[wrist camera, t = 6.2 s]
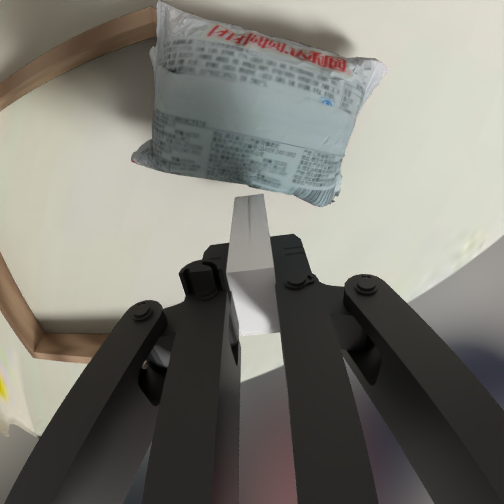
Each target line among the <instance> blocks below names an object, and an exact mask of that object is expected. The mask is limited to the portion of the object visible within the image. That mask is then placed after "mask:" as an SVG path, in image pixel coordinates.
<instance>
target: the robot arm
mask: <svg viewBox="0 0 504 504" xmlns="http://www.w3.org/2000/svg"><path fill="white" fill-rule="evenodd" d="M179 276H180V279H181V283H182V286H183V289H184V292H185V295H186V296H185V300H184V302H182V303H180V304H177V305H175V306H171V307H168V308H165V309H163V308H162V305H161V304H160V303H159V302H157V301H153V300H145V301H142V302H139V303H137V304H135V305H133V306H131V307H130V308H129V309H128V310H127V311H126V313H125V314H124V315H123V317H122V318H121V319H120V321H119V322H118V323H117V325H116V326H115V327H114V329H113V330H112V331H111V333H110V334H109V336H108V337H107V338H106V340H105V341H104V342H103V344H102V345H101V347H100V348H99V349H98V351H97V352H96V354H95V355H94V356H93V358H92V359H91V361H90V362H89V364H88V365H87V366H86V368H85V369H84V371H83V372H82V374H81V375H80V377H79V378H78V380H77V381H76V383H75V384H74V385H73V387H72V388H71V390H70V392H69V393H68V395H67V396H66V398H65V399H64V401H63V402H62V404H61V405H60V407H59V408H58V410H57V412H56V413H55V415H54V416H53V418H52V419H51V421H50V423H49V424H48V426H47V428H46V429H45V431H44V432H43V434H42V436H41V437H40V439H39V441H38V443H37V444H36V446H35V448H34V449H33V451H32V453H31V455H30V456H29V458H28V460H27V461H26V463H25V465H24V467H23V469H22V471H21V472H20V474H19V476H18V478H17V480H16V482H15V484H14V485H13V487H12V489H11V491H10V493H9V495H8V497H7V499H6V501H5V504H123V502H124V500H125V498H126V495H127V493H128V491H129V489H130V487H131V484H132V482H133V480H134V478H135V476H136V474H137V471H138V469H139V467H140V465H141V463H142V461H143V458H144V456H145V454H146V452H147V450H148V448H149V446H150V443H151V441H152V446H151V451H150V456H149V462H148V468H147V474H146V480H145V487H144V493H143V500H142V504H239V433H240V432H239V431H240V426H239V425H240V374H241V346H240V342H239V331H240V335H241V336H249V335H259V334H268V333H277V332H280V334H281V343H282V352H283V360H284V369H285V378H286V387H287V397H288V406H289V416H290V425H291V436H292V446H293V457H294V468H295V479H296V490H297V502H298V504H378V499H377V493H376V489H375V483H374V479H373V474H372V469H371V465H370V460H369V456H368V452H367V447H366V443H365V439H364V435H363V430H362V426H361V422H360V419H359V415H358V411H357V407H356V403H355V399H354V395H353V392H352V388H351V384H350V381H349V377H348V374H347V370H346V367H345V363H344V360H343V357H344V359H345V360H346V362H347V363H348V365H349V366H350V368H351V369H352V371H353V373H354V374H355V375H356V377H357V379H358V380H359V382H360V383H361V385H362V386H363V388H364V390H365V391H366V393H367V394H368V396H369V398H370V399H371V401H372V402H373V404H374V406H375V407H376V409H377V410H378V412H379V413H380V415H381V417H382V418H383V420H384V421H385V423H386V424H387V426H388V428H389V429H390V431H391V433H392V434H393V436H394V438H395V439H396V441H397V442H398V444H399V446H400V447H401V449H402V450H403V452H404V454H405V455H406V457H407V458H408V460H409V462H410V464H411V465H412V467H413V469H414V470H415V472H416V473H417V475H418V477H419V478H420V480H421V482H422V483H423V485H424V487H425V488H426V490H427V492H428V493H429V495H430V496H431V499H432V500H433V502H434V504H504V411H503V409H502V408H501V407H500V406H499V404H498V403H497V402H496V401H495V400H494V398H493V397H492V396H491V395H490V393H489V392H488V391H487V390H486V388H485V387H484V386H483V385H482V384H481V383H480V381H479V380H478V379H477V378H476V377H475V376H474V374H473V373H472V372H471V371H470V370H469V369H468V368H467V366H466V365H465V364H464V363H463V362H462V361H461V360H460V359H459V357H458V356H457V355H456V354H455V353H454V352H453V351H452V350H451V349H450V348H449V346H448V345H447V344H446V343H445V342H444V341H443V340H442V339H441V338H440V337H439V336H438V335H437V334H436V333H435V332H434V330H432V329H431V327H430V326H429V325H428V324H427V323H426V322H425V321H424V320H423V319H422V318H421V317H420V316H419V315H418V314H417V313H416V312H415V311H414V310H413V309H412V308H411V307H410V306H409V305H408V304H407V303H406V302H405V301H404V300H403V299H402V298H401V297H400V296H399V295H398V294H397V293H396V292H395V291H394V290H393V289H392V288H391V287H390V286H389V285H388V284H387V283H386V282H385V281H383V280H382V279H380V278H379V277H377V276H373V275H369V274H360V275H355V276H353V277H351V278H349V279H348V280H347V281H346V282H345V286H344V287H340V286H330V285H326V284H323V283H321V282H319V280H318V278H317V277H316V275H314V274H312V272H311V269H310V266H309V263H308V260H307V257H306V254H305V251H304V248H303V245H302V242H301V239H300V238H298V237H297V236H296V235H295V234H288V235H280V236H272V237H270V235H269V228H268V222H267V215H266V208H265V201H264V195H263V194H258V195H250V196H243V197H235V201H234V209H233V217H232V225H231V234H230V242H229V243H224V244H216V245H210V246H209V247H208V249H207V250H206V251H205V252H204V255H203V259H202V260H198V261H194V262H192V263H190V264H187V265H186V266H185V267H183V268H182V269H181V271H180V272H179ZM145 361H146V362H145ZM144 363H145V364H144ZM143 364H144V365H143ZM152 439H153V440H152Z"/></svg>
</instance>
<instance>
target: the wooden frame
mask: <svg viewBox="0 0 504 504" xmlns="http://www.w3.org/2000/svg"><path fill="white" fill-rule="evenodd" d="M157 22H158V21H157V10H155V9H154V8H153V7H152V6H151V7H147V8H144V9H141V10H138V11H135V12H133V13H130V14H127V15H124V16H122V17H119V18H116V19H114V20H111V21H109V22H107V23H104V24H102V25H100V26H97V27H95V28H93V29H91V30H88V31H86V32H84V33H82V34H80V35H78V36H76V37H74V38H72V39H70V40H68V41H66V42H64V43H62V44H61V45H59V46H57V47H55V48H53V49H52V50H50V51H48V52H47V53H45V54H43V55H42V56H40V57H38V58H37V59H35V60H33V61H32V62H30V63H29V64H27V65H26V66H24V67H23V68H21V69H20V70H18V71H17V72H15V73H14V74H13V75H11V76H10V77H8V78H7V79H6V80H4V81H3V82H2V83H0V111H1V110H3V109H4V108H6V107H7V106H8V105H10V104H11V103H13V102H14V101H16V100H18V99H19V98H21V97H22V96H24V95H25V94H27V93H29V92H30V91H32V90H34V89H35V88H37V87H39V86H40V85H42V84H44V83H46V82H48V81H49V80H51V79H53V78H55V77H57V76H59V75H61V74H63V73H65V72H67V71H69V70H71V69H73V68H75V67H77V66H79V65H81V64H83V63H86V62H88V61H90V60H92V59H95V58H97V57H99V56H102V55H104V54H107V53H109V52H112V51H114V50H117V49H120V48H122V47H125V46H128V45H131V44H134V43H137V42H140V41H143V40H146V39H149V38H153V37H156V36H157V34H156V28H157ZM0 311H1V312H2V314H3V315H4V317H5V319H6V320H7V322H8V323H9V325H10V326H11V328H12V329H13V331H14V332H15V334H16V335H17V336H18V338H19V339H20V341H21V342H22V343H23V345H24V346H25V348H26V349H27V350H28V352H29V353H30V354H31V356H32V357H33V358H38V359H46V360H54V361H63V362H74V363H86V364H89V362H90V361H91V359H92V358H93V356H94V355H95V354H96V352H97V351H98V349H99V348H100V347H101V345H102V344H103V342H104V341H105V340H106V338H107V337H108V336H109V334H60V333H45V332H44V330H43V329H42V327H41V326H40V324H39V323H38V321H37V319H36V318H35V316H34V315H33V313H32V311H31V310H30V308H29V306H28V305H27V303H26V301H25V300H24V298H23V296H22V294H21V293H20V291H19V289H18V287H17V285H16V283H15V281H14V280H13V278H12V276H11V274H10V272H9V270H8V268H7V266H6V264H5V262H4V259H3V257H2V255H1V253H0ZM145 362H146V361H145ZM144 364H145V363H144ZM144 364H143V365H144Z"/></svg>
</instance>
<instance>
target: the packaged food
mask: <svg viewBox="0 0 504 504" xmlns="http://www.w3.org/2000/svg"><path fill="white" fill-rule="evenodd" d="M157 21H158V22H157V28H156V34H157V43H156V47H154V46H152V48H151V49H150V53H149V56H150V59H151V62H152V66H153V70H154V83H155V101H154V114H153V122H152V139H151V140H149V141H147V142H146V143H144V144H143V145H142V146H141V147H140V148H139V149H138V150H137V151H136V152H134V153H133V154H132V157H131V161H132V162H134V163H136V164H139V165H143V166H145V167H148V168H152V169H155V170H158V171H162V172H166V173H171V174H177V175H183V176H191V177H198V178H205V179H212V180H218V181H225V182H231V183H238V184H246V185H248V186H249V187H253V188H257V189H262V190H267V191H272V192H279V193H284V194H289V195H294V196H296V197H298V198H300V199H302V200H304V201H306V202H308V203H310V204H312V205H315V206H319V207H323V206H326V205H327V204H331V202H335V201H334V200H333V199H334V197H335V196H338V195H339V193H340V185H341V179H342V175H341V172H340V168H341V163H342V158H343V157H344V153H345V149H346V146H347V144H348V141H349V138H350V135H351V133H352V131H353V128H354V126H355V121H356V117H357V115H358V113H359V112H360V110H361V108H362V107H363V105H364V103H365V102H366V100H367V99H368V98H369V96H370V95H371V93H372V91H373V89H374V88H375V87H376V86H377V85H378V84H379V82H380V81H381V79H382V77H383V76H384V75H385V74H386V72H387V67H386V66H385V65H384V64H383V63H382V62H381V61H379V60H377V59H375V58H362V57H355V58H345V57H341V56H339V55H337V54H335V53H333V52H328V51H324V50H322V49H318V48H313V47H311V46H307V45H304V44H302V43H297V42H294V41H291V40H287V39H283V38H276V37H270V36H267V35H264V34H261V33H259V32H258V31H255V30H245V29H244V28H243V27H241V26H236V25H231V24H229V23H223V22H219V21H212V20H206V19H204V18H201V17H199V16H196V15H194V14H190V13H187V12H185V11H183V10H180V9H177V8H175V7H173V6H170V5H168V4H166V3H164V2H161V1H158V2H157Z"/></svg>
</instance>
